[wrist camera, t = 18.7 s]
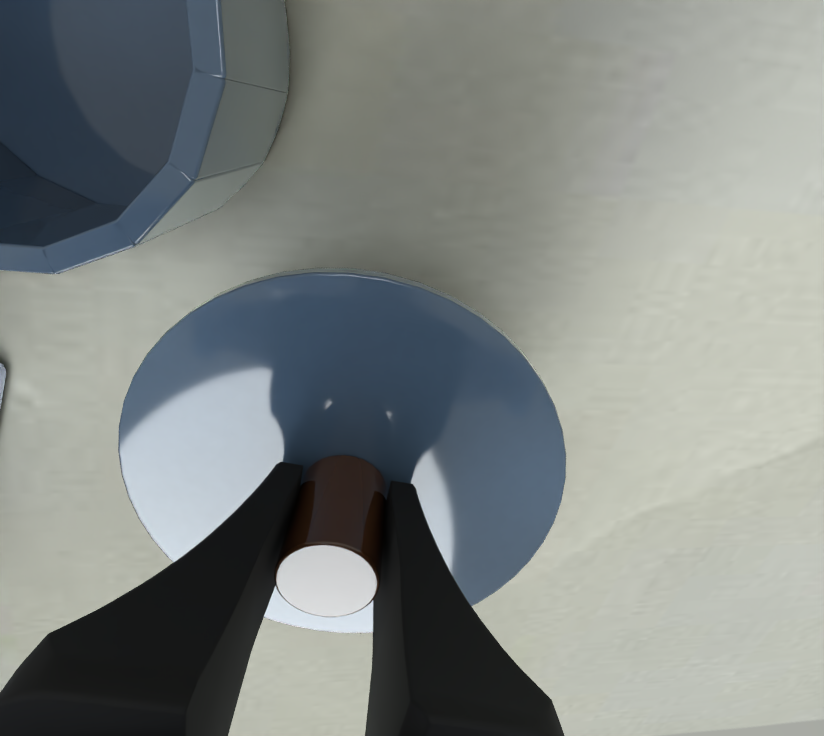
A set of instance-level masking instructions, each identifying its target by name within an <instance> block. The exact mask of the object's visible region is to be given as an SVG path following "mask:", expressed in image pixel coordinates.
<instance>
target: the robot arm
mask: <svg viewBox="0 0 824 736" xmlns="http://www.w3.org/2000/svg"><path fill="white" fill-rule="evenodd" d="M5 379H6V369H5V367H4V366H3V365H2V364H1V363H0V409H1V403H2V397H3V391H4V385H5ZM302 471H303V465H298V464H292V463H286V462H279V463H278V464H276V465H275V467H274V468H273V469H272V471H271V472H270V473H269V475H268V476H267V477H266V478H265V479H264V481H263V482H262V483H261V484H260V485H259V486H258V488H257V489H256V490H255V491H254V492H253V493H252V494H251V495H250V496H249V497H248V498H247V499H246V500H245V501H244V502H243V504H242V505H241V506H240V507H239V508H238V509H237V510H236V511H235V512H234V513H233V514H232V515H231V516H229V517H228V518H227V519H226V520H225V521H224V522H223V523H222V524H221V525H220V526H218V527H217V528H216V529H215V530H214V531H213V532H212V533H211V534H210V535H208V536H207V537H206V538H205V539H204V540H202V541H201V542H200V543H199V544H198V545H196V546H195V547H194V548H192V549H191V550H190V551H189V552H187V553H186V554H185V555H183V556H182V557H181V558H179V559H178V560H177V561H175V562H174V563H172V564H171V565H169V566H168V567H167V568H165V569H164V570H162V571H161V572H159V573H158V574H156V575H155V576H153V577H152V578H150V579H149V580H147V581H146V582H144V583H143V584H141V585H139V586H138V587H136V588H134V589H132V590H131V591H129V592H127V593H126V594H124V595H122V596H121V597H119V598H117V599H116V600H114V601H112V602H110V603H109V604H107V605H105V606H103V607H102V608H100V609H98V610H96V611H94V612H92V613H90V614H88V615H86V616H84V617H82V618H80V619H78V620H76V621H74V622H72V623H70V624H68V625H66V626H64V627H62V628H60V629H57V630H55V631H53V632H51V633H49V634H48V635H47V636H46V637H45V638H44V639H43V640H42V641H41V642H40V644H39V645H38V646H37V647H36V648H35V649H34V650H33V651H32V652H31V654H30V655H29V656H28V657H27V658H26V659H25V660H24V662H23V663H22V664H21V665H20V666H19V668H18V669H17V670H16V672H15V673H14V674H13V676H12V677H11V678H10V680H9V681H8V683H7V684H6V685H5V687H4V688H3V690H2V691H1V692H0V736H228V733H229V729H230V726H231V722H232V718H233V715H234V711H235V707H236V704H237V700H238V697H239V693H240V689H241V686H242V682H243V679H244V675H245V672H246V668H247V664H248V661H249V657H250V654H251V651H252V648H253V645H254V642H255V639H256V636H257V633H258V630H259V628H260V625H261V623H262V620H263V617H264V615H265V612H266V609H267V607H268V604H269V601H270V599H271V596H272V594H273V591H274V588H275V586H276V585H275V581H274V570H275V566H276V562H277V559H278V556H279V553H280V549H281V546H282V543H283V540H284V537H285V533H286V530H287V527H288V524H289V521H290V518H291V515H292V512H293V509H294V505H295V502H296V499H297V496H298V492H299V489H300V485H301V478H302ZM365 736H564V733H563V730H562V727H561V725H560V722H559V719H558V716H557V713H556V711H555V708H554V705H553V703H552V700H551V699H550V698H549V697H548V696H547V695H546V694H545V693H544V692H543V691H542V690H541V689H540V688H539V687H538V686H537V685H536V684H535V683H534V682H533V681H532V680H531V679H530V678H529V677H528V676H527V675H526V674H525V673H524V672H523V671H522V670H521V669H520V668H519V666H518V665H517V664H516V663H515V662H514V661H513V660H512V659H511V657H510V656H509V655H508V654H507V653H506V652H505V651H504V649H503V648H502V647H501V646H500V644H499V643H498V642H497V641H496V639H495V638H494V637H493V635H492V634H491V633H490V631H489V630H488V629H487V628H486V626H485V625H484V624H483V622H482V621H481V620H480V618H479V617H478V615H477V614H476V612H475V611H474V610H473V608H472V607H471V605H470V604H469V602H468V601H467V599H466V597H465V596H464V594H463V593H462V591H461V589H460V588H459V586H458V584H457V583H456V581H455V579H454V577H453V576H452V574H451V572H450V570H449V568H448V566H447V564H446V562H445V561H444V559H443V557H442V555H441V552H440V550H439V548H438V546H437V544H436V542H435V539H434V537H433V535H432V533H431V530H430V528H429V525H428V523H427V520H426V518H425V515H424V512H423V510H422V507H421V504H420V501H419V498H418V494H417V490H416V488H415V486H414V485H413V484H410V483H404V482H398V481H392V480H391V483H390V487H389V491H388V495H387V499H386V510H385V524H384V541H383V555H382V569H381V583H380V588H379V591H378V593H377V595H376V597H375V598H374V600H373V657H372V673H371V683H370V693H369V703H368V713H367V723H366V732H365Z"/></svg>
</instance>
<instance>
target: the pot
mask: <svg viewBox="0 0 824 736" xmlns="http://www.w3.org/2000/svg"><path fill="white" fill-rule="evenodd" d="M289 66H290V47H289V35H288V23H287V16H286V7H285V1H284V0H0V270H4V271H18V272H31V273H44V274H55V273H56V274H60V273H63V272H65V271H68V270H71V269H74V268H77V267H80V266H82V265H85V264H88V263H91V262H94V261H96V260H99V259H102V258H105V257H108V256H110V255H113V254H116V253H119V252H122V251H125V250H127V249H130V248H133V247H135V246H138V245H140V244H142V243H144V242H147V241H149V240H151V239H153V238H155V237H158V236H160V235H162V234H164V233H166V232H169V231H171V230H173V229H175V228H178V227H180V226H182V225H184V224H186V223H189V222H191V221H193V220H195V219H197V218H200V217H202V216H204V215H206V214H208V213H211V212H213V211H215V210H217V209H219V208H220V207H222V206H223V205H224V204H225V203H226V202H227V201H228V200H229V199H230V198H231V197H232V196H233V195H234V194H235V193H236V192H237V191H238V190H240V189H241V188H242V187H243V186H244V185H245V184H246V183H247V182H248V180H249V179H250V178H251V177H252V176H253V174H254V173H255V172H256V171H257V170H258V169H259V168H260V166H261V165H262V164H263V161H265V159H266V156H267V153H268V152H269V150H270V148H271V146H272V143H273V141H274V139H275V136H276V134H277V132H278V129H279V126H280V122H281V119H282V115H283V112H284V108H285V104H286V99H287V96H288V94H287V93H288V91H289V89H288V84H289Z"/></svg>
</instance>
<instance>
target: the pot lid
mask: <svg viewBox="0 0 824 736" xmlns="http://www.w3.org/2000/svg"><path fill="white" fill-rule="evenodd" d="M118 451H119V458H120V465H121V472H122V477H123V480H124V483H125V486H126V490H127V493H128V496H129V499H130V501H131V503H132V505H133V507H134V509H135V511H136V513H137V515H138V518H139V519H140V521H141V522H142V524H143V525H144V527H145V529H146V530H147V532H148V533H149V535H150V536H151V538H152V539H153V540H154V542H155V543H156V544H157V545H158V546H159V547H160V549H161V550H162V551H163V552H164V553H165V555H166V556H167V557H168V558H169V559H170V560H171V561H172V562H173V563H174V562H175V561H177V560H178V559H179V558H181V557H182V556H183V555H185V554H186V553H187V552H189V551H190V550H191V549H192V548H194V547H195V546H196V545H198V544H199V543H200V542H201V541H202V540H204V539H205V538H206V537H207V536H208V535H210V534H211V533H212V532H213V531H214V530H215V529H216V528H217V527H218V526H220V525H221V524H222V523H223V522H224V521H225V520H226V519H227V518H228V517H229V516H231V515H232V514H233V513H234V512H235V511H236V510H237V509H238V508H239V507H240V506H241V505H242V504H243V502H244V501H245V500H246V499H247V498H248V497H249V496H250V495H251V494H252V493H253V492H254V491H255V490H256V489H257V488H258V486H259V485H260V484H261V483H262V482H263V481H264V479H265V478H266V477H267V476H268V475H269V473H270V472H271V471H272V469H273V468H274V467H275V465H276V464H278V463H279V462H286V463H292V464H298V465H303V471H302V478H301V485H300V489H299V492H298V496H297V499H296V502H295V505H294V509H293V512H292V515H291V518H290V521H289V524H288V527H287V530H286V533H285V537H284V540H283V543H282V546H281V549H280V553H279V556H278V559H277V562H276V566H275V570H274V581H275V585H276V586H275V588H274V591H273V594H272V596H271V599H270V601H269V604H268V607H267V609H266V612H265V615H264V618H267V619H269V620H273V621H277V622H280V623H284V624H287V625H291V626H295V627H301V628H306V629H312V630H317V631H327V632H338V633H373V600H374V598H375V597H376V595H377V593H378V591H379V588H380V583H381V569H382V555H383V541H384V524H385V510H386V499H387V495H388V491H389V487H390V483H391V480H392V481H398V482H404V483H410V484H413V485H414V486H415V488H416V490H417V494H418V498H419V501H420V504H421V507H422V510H423V512H424V515H425V518H426V520H427V523H428V525H429V528H430V530H431V533H432V535H433V537H434V539H435V542H436V544H437V546H438V548H439V550H440V552H441V555H442V557H443V559H444V561H445V562H446V564H447V566H448V568H449V570H450V572H451V574H452V576H453V577H454V579H455V581H456V583H457V584H458V586H459V588H460V589H461V591H462V593H463V594H464V596H465V597H466V599H467V601H468V602H469V604H470V605H471V606H473V605H475V604H477V603H479V602H480V601H482V600H483V599H485V598H486V597H488V596H490V595H491V594H493V593H494V592H496V591H497V590H499V589H500V588H501V587H502V586H503V585H505V584H506V583H507V582H508V581H510V580H511V579H512V578H513V577H515V575H516V574H517V573H518V572H519V571H520V570H521V569H522V568H523V567H524V566H525V565H526V564H527V563H528V562H529V561H530V560H531V558H532V557H533V556H534V554H535V553H536V552H537V550H538V549H539V547H540V546H541V545H542V543H543V542H544V540H545V538H546V536H547V534H548V532H549V531H550V529H551V527H552V525H553V523H554V520H555V518H556V515H557V512H558V509H559V506H560V503H561V500H562V494H563V489H564V484H565V478H566V451H565V444H564V437H563V430H562V427H561V424H560V421H559V418H558V414H557V411H556V408H555V405H554V403H553V401H552V399H551V397H550V395H549V393H548V391H547V389H546V387H545V385H544V383H543V381H542V379H541V377H540V375H539V374H538V372H537V371H536V369H535V368H534V367H533V365H532V364H531V362H530V361H529V360H528V358H527V357H526V355H525V354H524V353H523V351H522V350H521V349H520V348H519V347H518V346H517V345H516V344H515V343H514V342H513V341H512V340H511V339H510V338H509V337H508V336H507V335H506V334H505V333H504V332H503V331H502V330H501V329H500V328H499V327H497V326H496V325H495V324H493V323H492V322H491V321H490V320H488V319H487V318H486V317H484V316H483V315H482V314H481V313H479V312H478V311H476V310H475V309H473V308H471V307H470V306H468V305H466V304H464V303H463V302H461V301H459V300H457V299H456V298H454V297H452V296H451V295H449V294H446V293H444V292H441V291H439V290H437V289H434V288H432V287H429V286H427V285H425V284H422V283H420V282H417V281H413V280H410V279H406V278H402V277H399V276H395V275H391V274H388V273H382V272H375V271H368V270H361V269H354V268H310V269H302V270H293V271H285V272H280V273H276V274H272V275H268V276H264V277H261V278H257V279H253V280H250V281H247V282H245V283H242V284H240V285H238V286H235V287H233V288H230V289H228V290H225V291H223V292H221V293H219V294H217V295H216V296H214V297H212V298H211V299H209V300H207V301H206V302H204V303H202V304H201V305H199V306H197V307H196V308H194V309H193V310H192V311H191V312H190V313H188V314H187V315H186V316H185V317H184V318H182V319H181V320H180V321H179V322H177V323H176V324H175V325H174V326H173V327H172V328H170V329H169V330H168V331H167V332H166V333H165V334H164V335H163V336H162V337H161V338H160V340H159V341H158V342H157V343H156V344H155V345H154V347H153V348H152V349H151V350H150V351H149V352H148V353H147V355H146V357H145V358H144V360H143V362H142V363H141V365H140V367H139V368H138V370H137V372H136V373H135V375H134V377H133V379H132V382H131V384H130V387H129V389H128V392H127V394H126V397H125V400H124V403H123V409H122V414H121V419H120V424H119V448H118Z"/></svg>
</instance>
